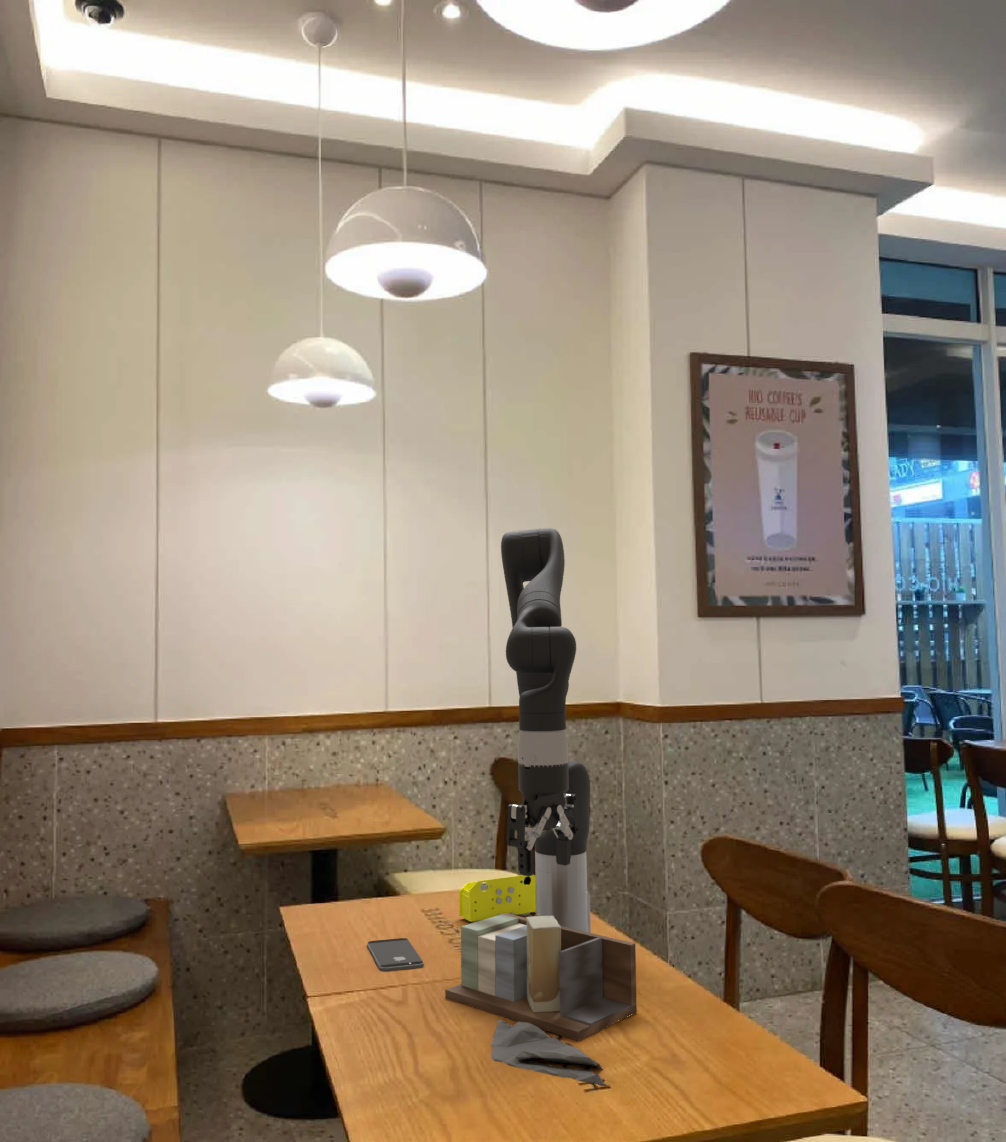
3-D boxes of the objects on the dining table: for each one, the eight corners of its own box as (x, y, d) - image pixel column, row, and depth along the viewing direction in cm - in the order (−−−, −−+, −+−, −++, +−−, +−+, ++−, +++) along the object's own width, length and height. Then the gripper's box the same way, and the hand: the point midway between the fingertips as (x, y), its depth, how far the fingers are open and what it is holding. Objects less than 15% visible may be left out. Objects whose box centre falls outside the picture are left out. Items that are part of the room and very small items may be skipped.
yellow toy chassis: (471, 926, 196) (471, 882, 197) (458, 919, 201) (458, 876, 202) (542, 915, 204) (542, 873, 204) (528, 909, 209) (528, 867, 209)
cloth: (462, 1028, 146) (462, 1012, 146) (551, 1016, 150) (551, 1000, 150) (525, 1106, 121) (525, 1086, 121) (629, 1089, 126) (628, 1070, 126)
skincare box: (525, 998, 152) (525, 915, 153) (554, 997, 153) (553, 914, 154) (533, 1014, 146) (532, 927, 147) (562, 1012, 146) (561, 926, 147)
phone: (365, 946, 184) (380, 974, 169) (365, 941, 184) (380, 968, 169) (407, 942, 187) (425, 969, 171) (407, 937, 187) (425, 963, 171)
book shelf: (506, 975, 167) (505, 911, 167) (636, 1012, 149) (635, 942, 150) (445, 997, 156) (445, 930, 157) (577, 1041, 139) (576, 964, 140)
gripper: (553, 753, 160) (555, 858, 159) (492, 763, 149) (494, 875, 148) (591, 757, 155) (594, 865, 154) (531, 767, 144) (533, 883, 143)
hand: (545, 869), depth 151 cm, fingers open, 8 cm apart
